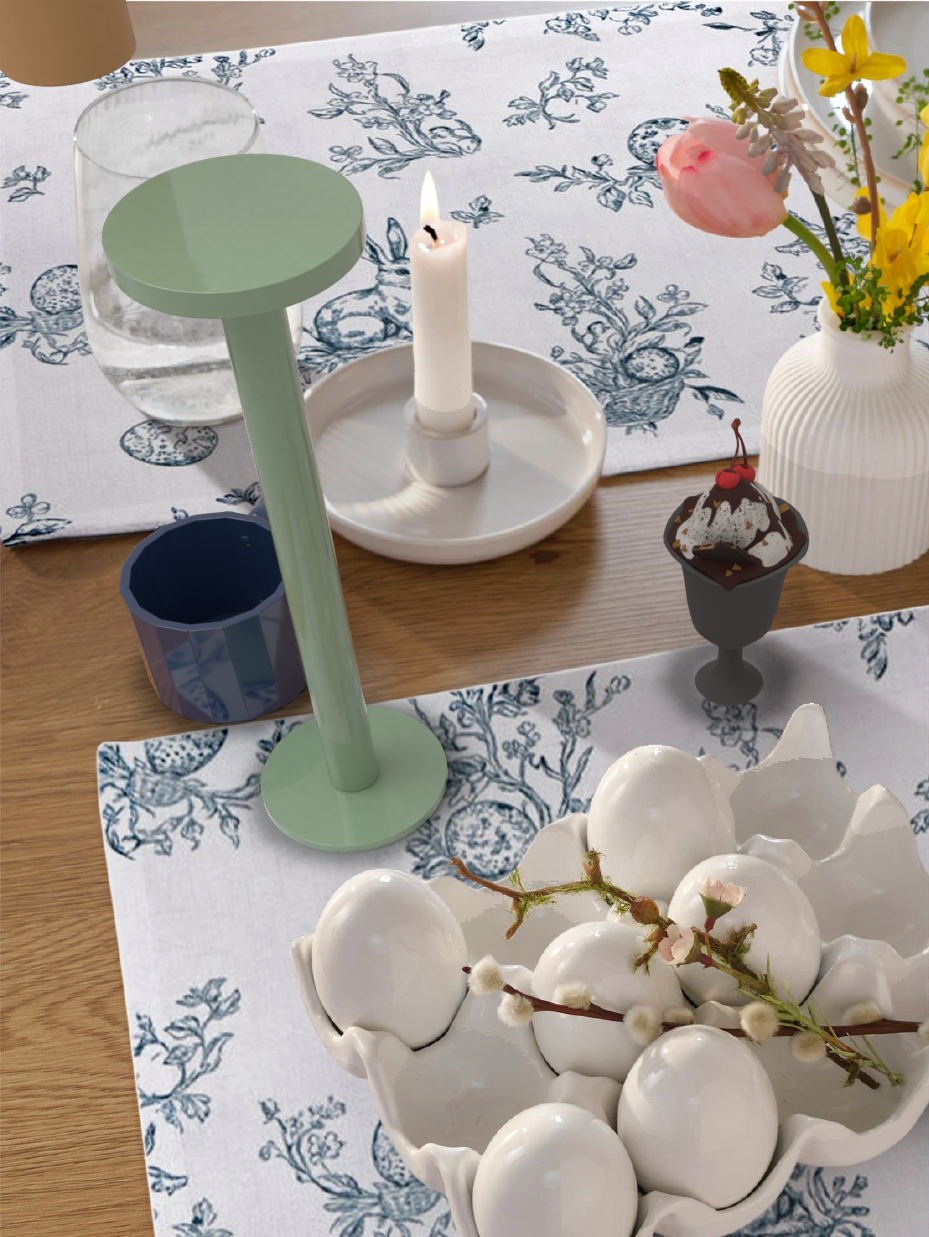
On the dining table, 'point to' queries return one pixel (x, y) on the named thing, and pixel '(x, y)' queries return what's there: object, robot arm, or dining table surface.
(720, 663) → the sundae
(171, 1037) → the dining table surface
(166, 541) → the mug
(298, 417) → the green pedestal stand
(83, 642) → the dining table surface
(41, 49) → the paper cup
